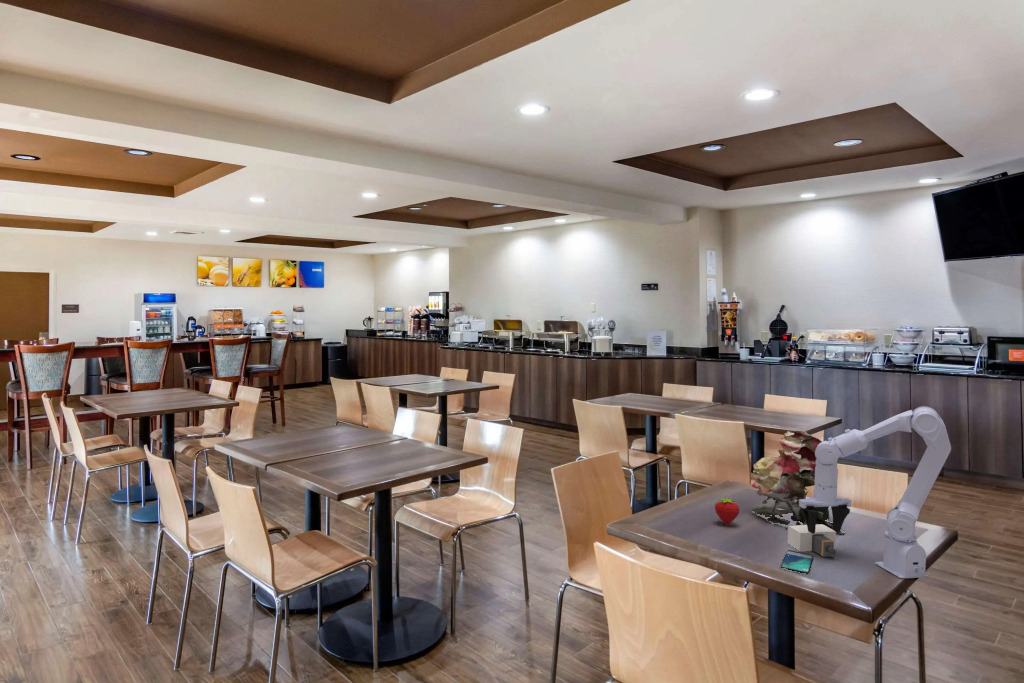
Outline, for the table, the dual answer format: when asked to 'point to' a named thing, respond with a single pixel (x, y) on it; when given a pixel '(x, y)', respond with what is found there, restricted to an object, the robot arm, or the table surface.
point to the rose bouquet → (788, 478)
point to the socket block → (807, 536)
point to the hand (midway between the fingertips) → (823, 531)
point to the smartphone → (797, 561)
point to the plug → (823, 545)
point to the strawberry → (727, 510)
